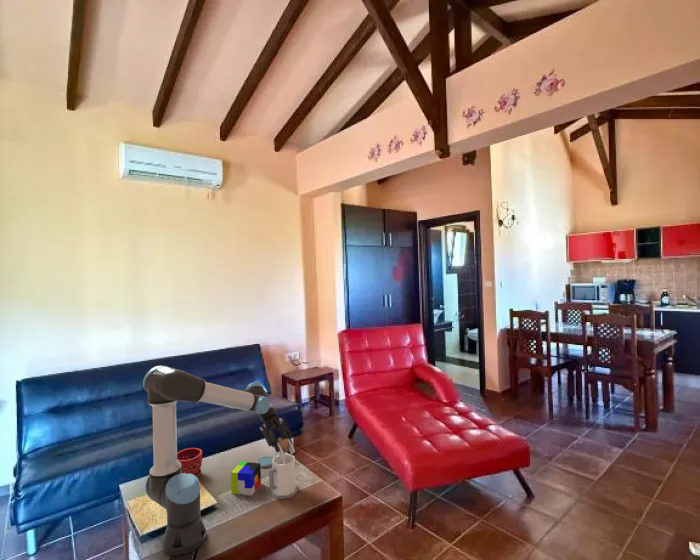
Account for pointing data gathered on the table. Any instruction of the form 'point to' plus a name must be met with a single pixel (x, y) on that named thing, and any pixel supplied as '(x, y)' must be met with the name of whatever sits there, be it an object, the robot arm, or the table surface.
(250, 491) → the puzzle toy
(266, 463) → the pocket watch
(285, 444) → the plunger
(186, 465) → the plant pot
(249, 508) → the table surface
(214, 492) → the table surface
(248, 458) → the table surface
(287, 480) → the jug
